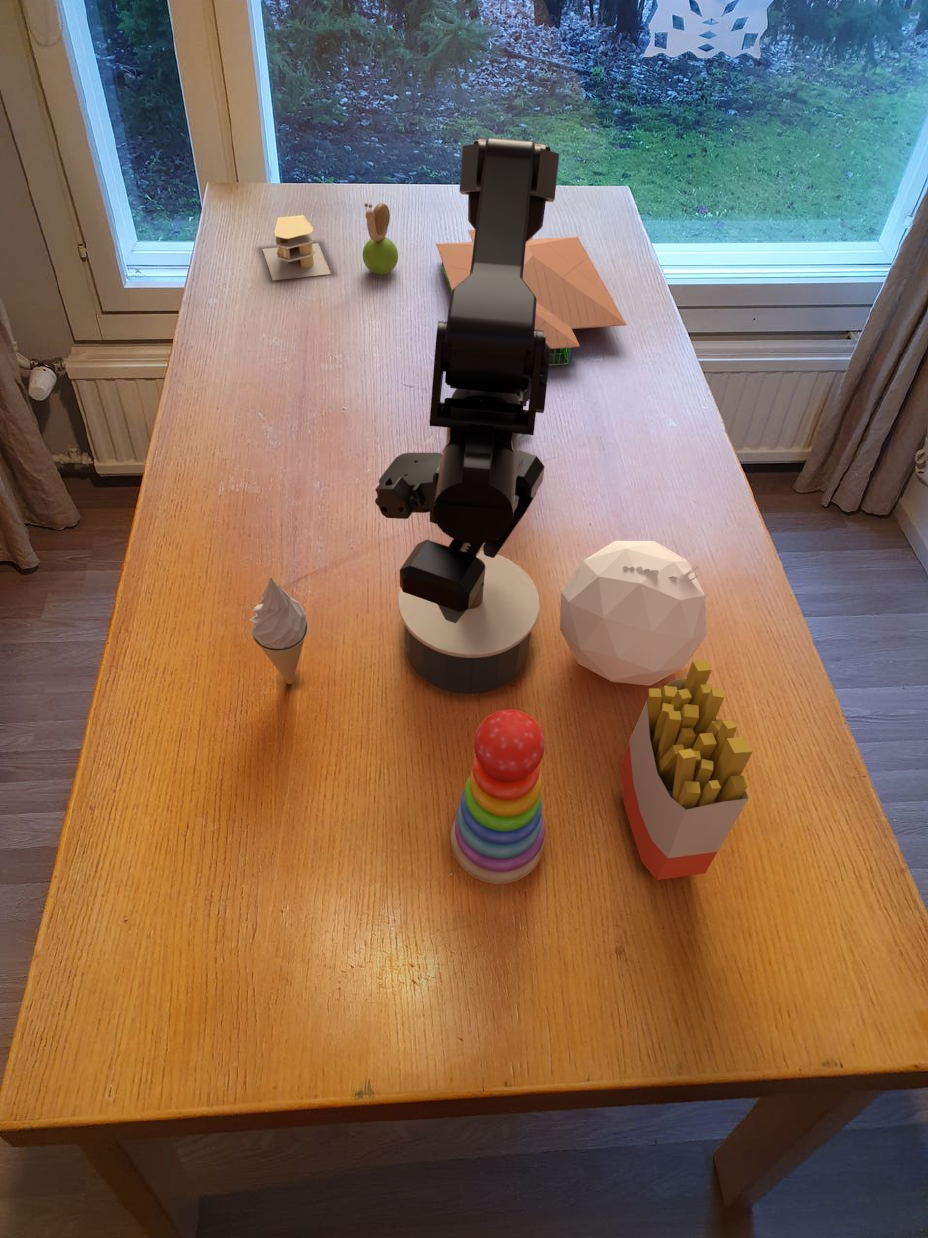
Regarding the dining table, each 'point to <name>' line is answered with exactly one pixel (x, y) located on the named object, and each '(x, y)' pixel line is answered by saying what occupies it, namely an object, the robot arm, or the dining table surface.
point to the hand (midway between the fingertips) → (471, 587)
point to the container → (466, 667)
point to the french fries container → (683, 776)
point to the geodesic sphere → (633, 612)
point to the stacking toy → (502, 801)
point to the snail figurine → (379, 241)
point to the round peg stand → (478, 614)
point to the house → (550, 287)
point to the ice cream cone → (280, 629)
